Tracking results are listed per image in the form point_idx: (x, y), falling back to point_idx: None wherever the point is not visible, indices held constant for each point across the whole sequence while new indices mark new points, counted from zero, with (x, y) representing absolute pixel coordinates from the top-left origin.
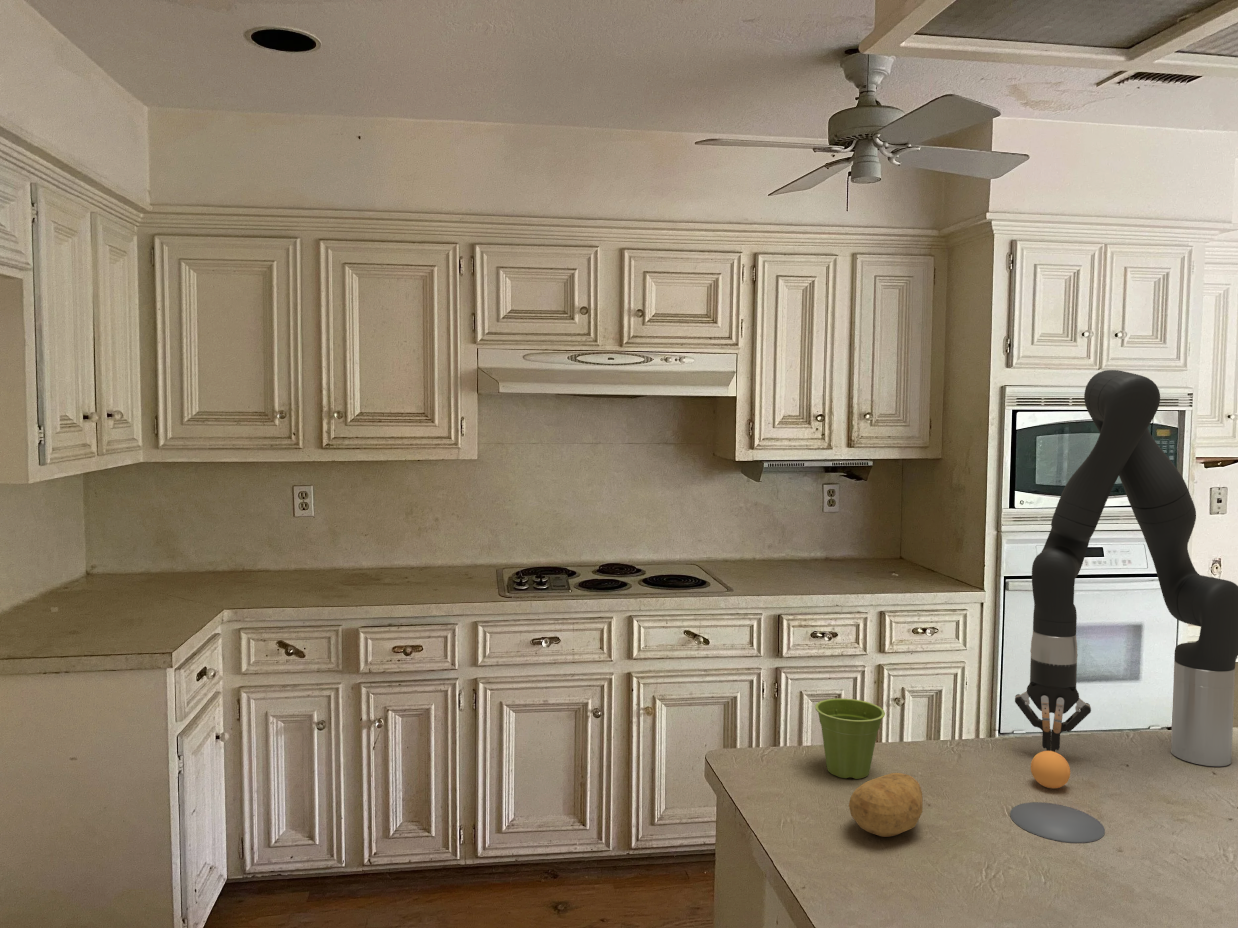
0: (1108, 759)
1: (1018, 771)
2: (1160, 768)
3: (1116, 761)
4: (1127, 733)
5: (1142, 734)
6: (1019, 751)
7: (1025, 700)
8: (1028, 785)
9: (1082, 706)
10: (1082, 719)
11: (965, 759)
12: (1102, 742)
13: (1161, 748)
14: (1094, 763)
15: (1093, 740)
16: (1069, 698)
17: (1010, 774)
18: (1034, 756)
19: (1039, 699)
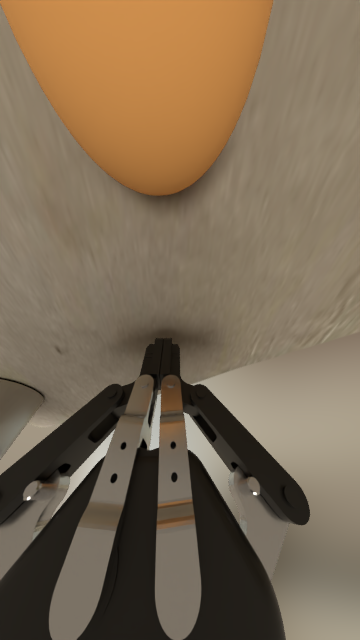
0: (88, 358)
1: (237, 239)
2: (17, 355)
3: (76, 356)
4: None
5: None
6: (212, 343)
7: (254, 499)
8: None
9: (15, 516)
10: (46, 437)
11: (346, 268)
12: None
13: (55, 397)
14: (100, 340)
15: None
16: (32, 601)
17: (268, 199)
18: (262, 5)
19: (202, 536)
